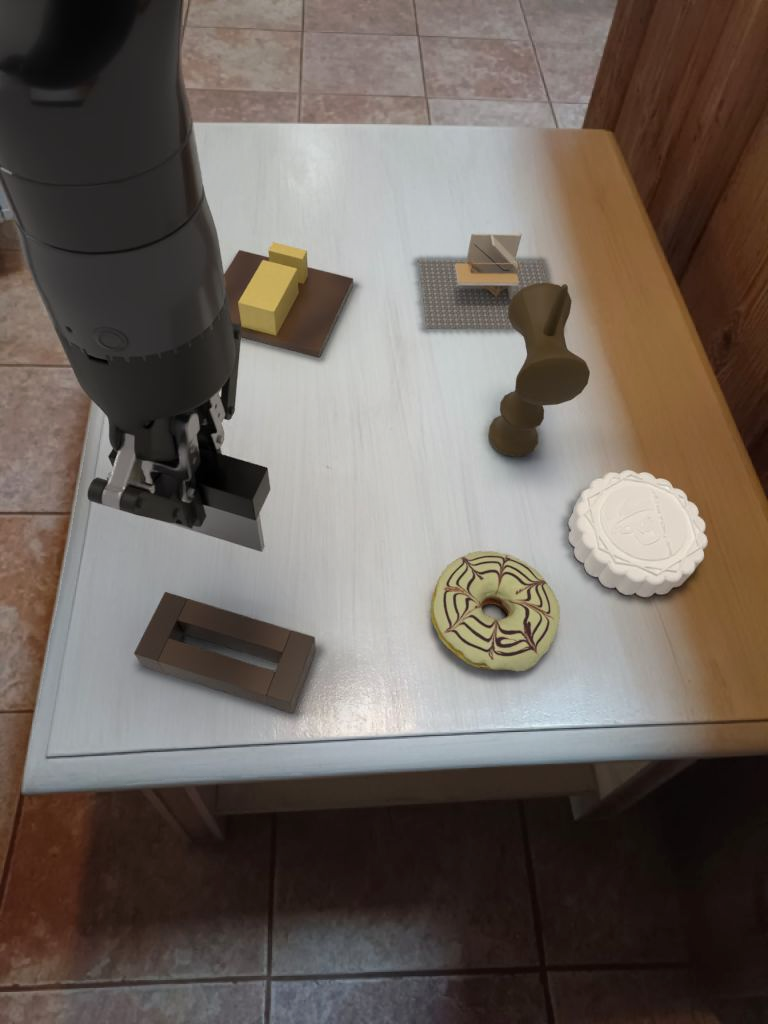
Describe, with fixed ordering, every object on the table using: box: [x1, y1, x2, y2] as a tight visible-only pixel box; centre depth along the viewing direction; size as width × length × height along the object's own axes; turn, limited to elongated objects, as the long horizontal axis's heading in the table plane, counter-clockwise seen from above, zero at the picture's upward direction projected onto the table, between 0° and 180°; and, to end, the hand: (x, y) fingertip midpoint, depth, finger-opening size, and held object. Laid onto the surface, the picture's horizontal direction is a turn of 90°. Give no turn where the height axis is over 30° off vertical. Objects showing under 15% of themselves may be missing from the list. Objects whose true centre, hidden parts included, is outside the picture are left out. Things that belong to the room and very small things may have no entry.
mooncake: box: [568, 469, 709, 598], centre depth 66 cm, size 12×12×4 cm
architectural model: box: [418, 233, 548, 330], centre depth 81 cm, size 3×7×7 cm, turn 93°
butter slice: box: [267, 241, 309, 284], centre depth 81 cm, size 4×2×4 cm, turn 74°
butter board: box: [224, 249, 354, 358], centre depth 81 cm, size 14×12×1 cm
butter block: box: [238, 260, 299, 336], centre depth 78 cm, size 4×7×4 cm, turn 164°
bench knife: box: [107, 447, 271, 553], centre depth 46 cm, size 9×2×8 cm, turn 73°
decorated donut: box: [430, 550, 561, 672], centre depth 61 cm, size 10×11×4 cm
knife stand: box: [133, 591, 317, 714], centre depth 59 cm, size 13×6×3 cm, turn 74°
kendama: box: [488, 282, 591, 458], centre depth 65 cm, size 6×10×20 cm, turn 1°
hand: (198, 499), depth 46 cm, fingers closed on bench knife, 2 cm apart
